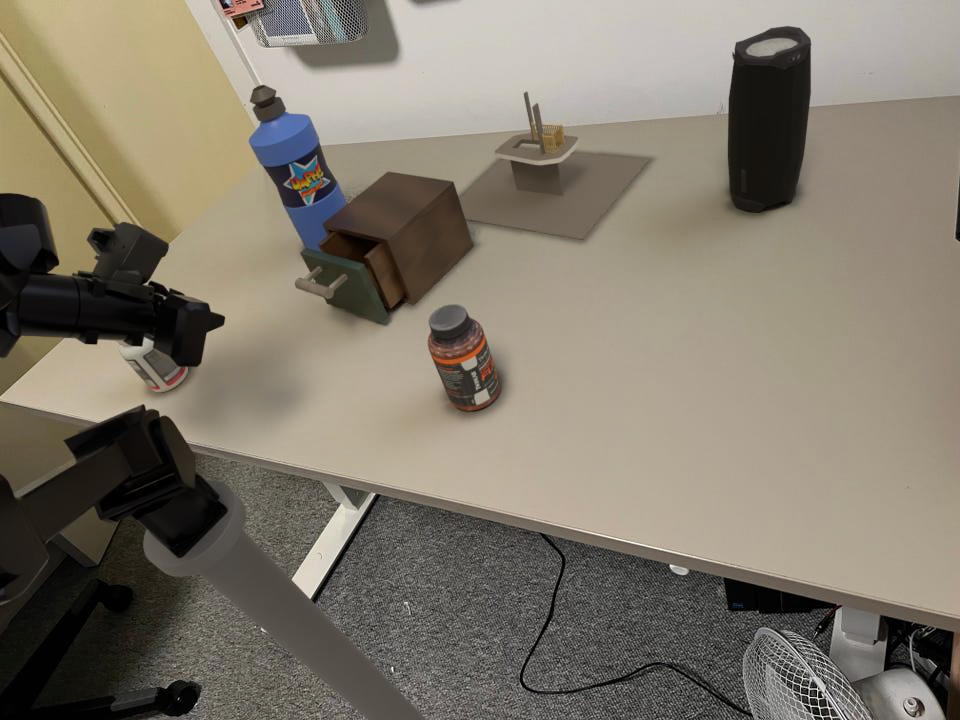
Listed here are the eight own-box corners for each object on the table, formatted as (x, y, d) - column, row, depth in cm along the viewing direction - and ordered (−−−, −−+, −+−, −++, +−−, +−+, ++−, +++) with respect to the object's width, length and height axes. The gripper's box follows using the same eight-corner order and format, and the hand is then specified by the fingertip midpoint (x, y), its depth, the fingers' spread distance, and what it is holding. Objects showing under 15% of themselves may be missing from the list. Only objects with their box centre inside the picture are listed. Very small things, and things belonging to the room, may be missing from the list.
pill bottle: (189, 359, 88) (147, 306, 82) (189, 383, 84) (145, 329, 78) (152, 375, 88) (107, 323, 81) (150, 399, 84) (103, 347, 77)
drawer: (361, 344, 80) (333, 290, 74) (306, 322, 86) (276, 271, 80) (442, 266, 87) (422, 212, 81) (385, 252, 94) (363, 200, 88)
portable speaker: (768, 171, 86) (780, 18, 73) (816, 199, 79) (838, 36, 66) (711, 193, 85) (713, 43, 72) (754, 224, 78) (764, 65, 65)
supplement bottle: (502, 409, 67) (475, 331, 60) (448, 417, 68) (415, 342, 61) (501, 369, 71) (476, 292, 64) (451, 377, 72) (420, 303, 65)
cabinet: (414, 305, 84) (386, 239, 77) (352, 285, 91) (321, 223, 84) (473, 246, 91) (453, 181, 84) (411, 232, 98) (387, 171, 91)
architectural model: (513, 148, 109) (495, 65, 100) (649, 159, 96) (642, 65, 86) (442, 215, 99) (414, 130, 90) (582, 239, 85) (566, 142, 76)
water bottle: (368, 237, 100) (299, 80, 83) (316, 265, 98) (235, 109, 81) (348, 217, 107) (280, 67, 90) (298, 242, 105) (220, 94, 88)
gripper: (127, 234, 51) (287, 263, 64) (39, 205, 62) (191, 235, 74) (107, 367, 52) (267, 369, 65) (24, 316, 63) (176, 327, 76)
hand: (223, 320), depth 70 cm, fingers closed
